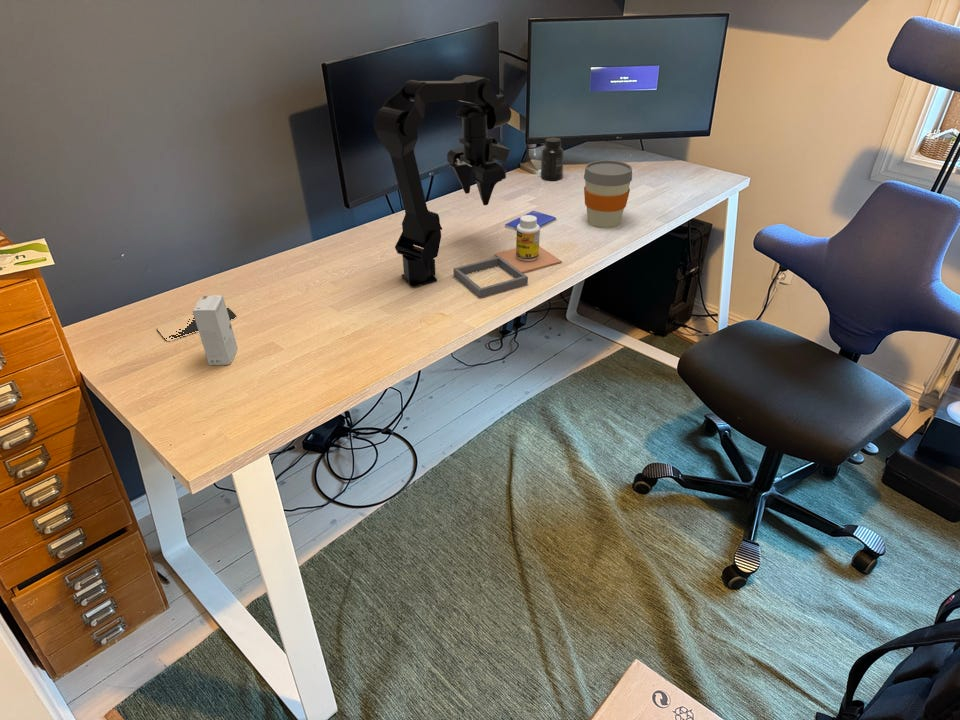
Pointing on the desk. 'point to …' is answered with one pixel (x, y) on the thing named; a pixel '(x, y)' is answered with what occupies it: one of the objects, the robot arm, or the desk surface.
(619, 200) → the reusable coffee cup
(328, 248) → the desk surface
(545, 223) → the hard drive
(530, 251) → the supplement bottle
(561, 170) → the supplement bottle
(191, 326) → the dark flat slab
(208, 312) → the skincare box
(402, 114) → the robot arm
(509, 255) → the pad
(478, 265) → the square frame
